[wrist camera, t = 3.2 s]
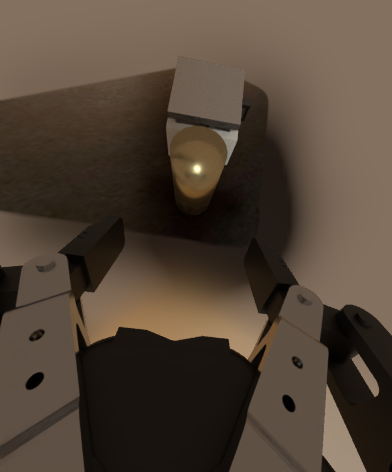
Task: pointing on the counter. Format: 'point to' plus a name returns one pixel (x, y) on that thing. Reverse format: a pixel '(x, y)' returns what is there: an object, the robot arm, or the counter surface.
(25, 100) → the counter surface
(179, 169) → the disc
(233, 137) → the white latched box
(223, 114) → the box lid
